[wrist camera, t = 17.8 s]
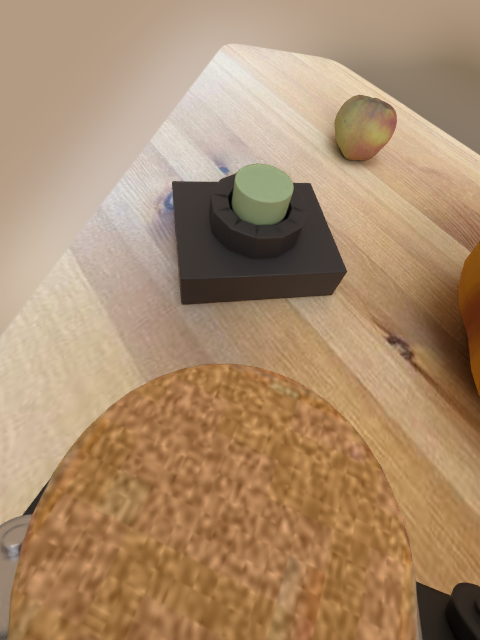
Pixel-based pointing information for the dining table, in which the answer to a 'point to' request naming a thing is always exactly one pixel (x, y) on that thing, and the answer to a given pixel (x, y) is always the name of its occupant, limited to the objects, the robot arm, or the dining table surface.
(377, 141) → the apple
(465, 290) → the decorative pumpkin
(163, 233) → the dining table surface
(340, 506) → the bottle
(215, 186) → the button housing
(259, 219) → the green button cap
